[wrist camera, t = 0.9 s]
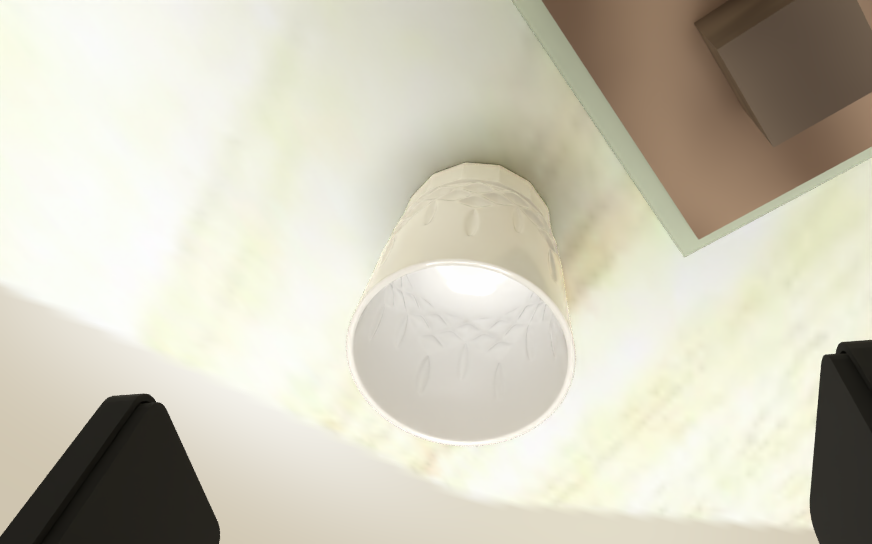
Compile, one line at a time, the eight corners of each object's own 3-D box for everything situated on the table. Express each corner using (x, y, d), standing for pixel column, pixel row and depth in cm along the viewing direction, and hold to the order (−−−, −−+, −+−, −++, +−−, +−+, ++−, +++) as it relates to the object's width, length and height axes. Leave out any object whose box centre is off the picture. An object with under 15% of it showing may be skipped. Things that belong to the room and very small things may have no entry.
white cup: (531, 321, 36) (531, 470, 28) (375, 276, 36) (326, 413, 27) (590, 177, 32) (611, 300, 24) (415, 125, 32) (372, 230, 24)
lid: (858, -242, 24) (931, -260, 19) (991, 67, 28) (1075, 108, 24) (540, -7, 28) (541, 21, 24) (694, 229, 32) (719, 289, 28)
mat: (870, -294, 24) (878, -298, 23) (1021, 68, 28) (1029, 73, 28) (503, -15, 29) (502, -13, 28) (681, 251, 34) (684, 257, 33)
